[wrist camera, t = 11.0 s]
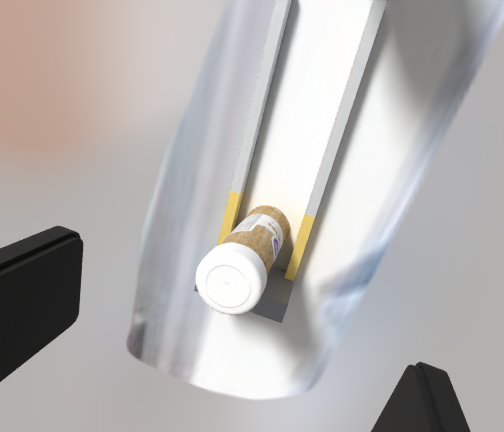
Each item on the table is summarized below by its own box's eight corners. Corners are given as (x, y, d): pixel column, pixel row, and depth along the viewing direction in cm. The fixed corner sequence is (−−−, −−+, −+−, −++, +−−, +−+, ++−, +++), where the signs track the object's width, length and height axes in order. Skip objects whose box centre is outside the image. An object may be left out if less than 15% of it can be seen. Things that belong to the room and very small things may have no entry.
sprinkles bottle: (295, 239, 33) (271, 310, 21) (254, 251, 35) (208, 323, 22) (280, 197, 32) (246, 244, 20) (239, 211, 34) (182, 262, 21)
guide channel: (283, -14, 28) (270, -50, 22) (384, 6, 26) (398, -26, 21) (216, 265, 36) (194, 290, 31) (290, 291, 35) (281, 323, 29)
